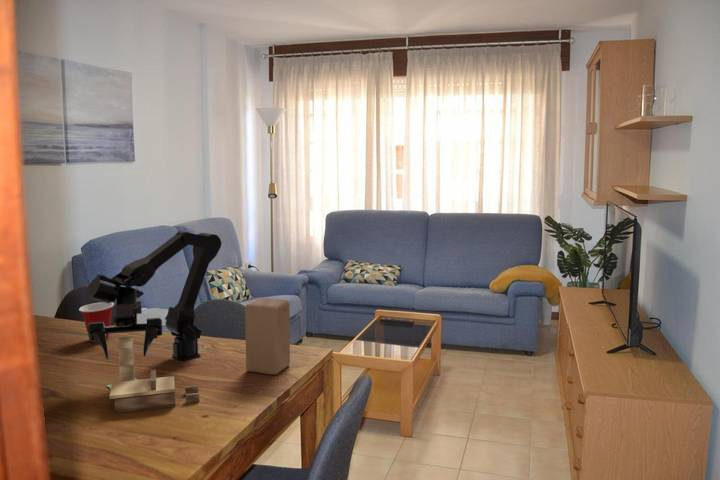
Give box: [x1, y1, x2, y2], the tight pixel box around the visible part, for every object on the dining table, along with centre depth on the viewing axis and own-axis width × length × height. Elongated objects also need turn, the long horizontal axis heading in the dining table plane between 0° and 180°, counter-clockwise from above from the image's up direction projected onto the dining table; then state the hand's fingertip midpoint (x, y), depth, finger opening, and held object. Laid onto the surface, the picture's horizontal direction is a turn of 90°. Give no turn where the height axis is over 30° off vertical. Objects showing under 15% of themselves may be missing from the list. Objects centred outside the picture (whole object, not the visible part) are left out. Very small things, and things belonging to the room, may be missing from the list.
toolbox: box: [113, 384, 200, 414], centre depth 154 cm, size 20×9×4 cm, turn 108°
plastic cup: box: [78, 301, 115, 343], centre depth 204 cm, size 11×11×12 cm
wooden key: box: [117, 336, 136, 382], centre depth 163 cm, size 4×4×13 cm
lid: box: [109, 369, 176, 400], centre depth 153 cm, size 15×9×3 cm, turn 108°
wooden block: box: [244, 297, 291, 376], centre depth 178 cm, size 10×10×20 cm
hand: (126, 357), depth 162 cm, fingers open, 9 cm apart
